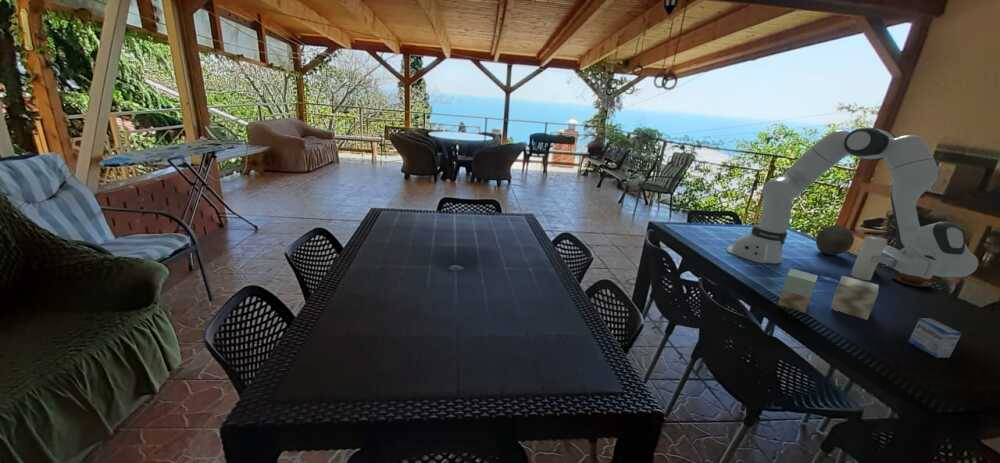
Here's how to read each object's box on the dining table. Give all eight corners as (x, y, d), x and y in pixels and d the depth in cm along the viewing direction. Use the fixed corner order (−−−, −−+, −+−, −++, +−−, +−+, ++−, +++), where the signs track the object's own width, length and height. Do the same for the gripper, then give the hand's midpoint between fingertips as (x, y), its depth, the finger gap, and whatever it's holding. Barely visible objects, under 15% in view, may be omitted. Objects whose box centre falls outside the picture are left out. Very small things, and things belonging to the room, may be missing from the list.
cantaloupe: (805, 251, 195) (814, 223, 190) (822, 248, 200) (831, 220, 195) (837, 262, 183) (848, 232, 178) (854, 258, 188) (865, 229, 183)
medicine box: (907, 342, 120) (918, 317, 118) (920, 341, 121) (931, 317, 118) (936, 358, 113) (949, 332, 110) (950, 358, 113) (962, 332, 110)
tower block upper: (782, 289, 138) (787, 274, 136) (786, 283, 143) (791, 268, 142) (810, 298, 133) (815, 282, 131) (813, 290, 138) (818, 275, 136)
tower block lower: (777, 304, 140) (782, 289, 138) (781, 297, 145) (786, 283, 144) (804, 313, 135) (810, 298, 133) (808, 305, 140) (813, 290, 138)
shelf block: (830, 308, 139) (839, 283, 135) (832, 299, 145) (841, 275, 142) (867, 320, 132) (878, 293, 129) (868, 310, 139) (878, 284, 136)
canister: (850, 276, 135) (864, 238, 130) (851, 271, 138) (865, 235, 134) (870, 281, 131) (886, 243, 127) (871, 276, 135) (886, 239, 130)
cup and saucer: (918, 280, 167) (924, 267, 165) (937, 292, 156) (943, 278, 154) (884, 275, 171) (889, 262, 169) (900, 286, 160) (906, 272, 158)
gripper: (893, 240, 139) (849, 236, 141) (943, 263, 120) (891, 257, 122) (886, 256, 141) (843, 252, 143) (934, 281, 122) (884, 275, 124)
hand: (866, 255), depth 132 cm, fingers closed on canister, 5 cm apart
